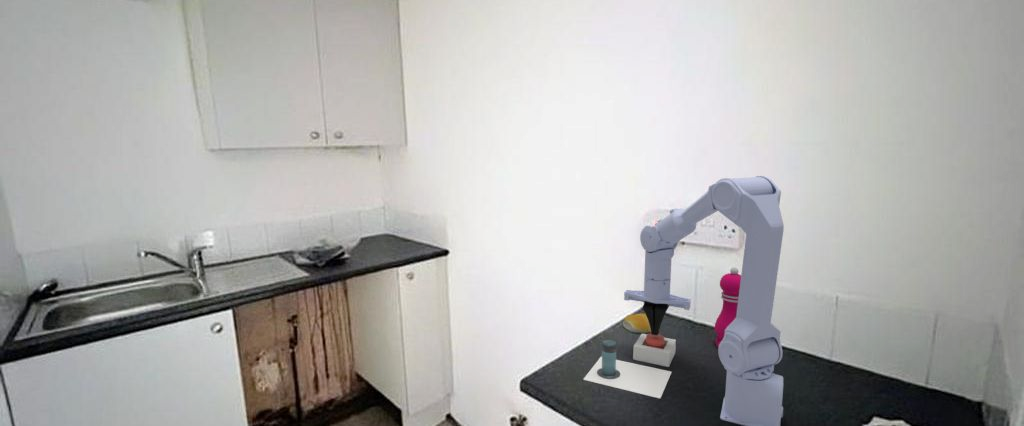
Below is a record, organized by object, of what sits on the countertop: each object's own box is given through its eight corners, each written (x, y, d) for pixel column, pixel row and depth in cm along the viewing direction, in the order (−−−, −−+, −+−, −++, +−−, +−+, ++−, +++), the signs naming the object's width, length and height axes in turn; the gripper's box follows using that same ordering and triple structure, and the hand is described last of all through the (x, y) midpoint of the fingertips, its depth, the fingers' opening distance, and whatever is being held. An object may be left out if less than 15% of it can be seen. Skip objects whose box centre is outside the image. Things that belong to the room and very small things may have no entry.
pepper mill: (751, 353, 113) (757, 271, 109) (720, 353, 113) (725, 271, 109) (737, 340, 120) (742, 263, 116) (708, 340, 120) (713, 263, 117)
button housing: (675, 353, 113) (675, 339, 112) (668, 368, 106) (669, 353, 105) (641, 346, 117) (641, 333, 116) (633, 360, 110) (633, 346, 109)
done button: (665, 345, 112) (665, 335, 111) (661, 352, 108) (662, 341, 108) (648, 341, 113) (648, 332, 113) (644, 348, 110) (644, 338, 110)
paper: (671, 373, 104) (671, 371, 104) (660, 399, 93) (660, 398, 93) (601, 357, 111) (601, 356, 111) (583, 380, 101) (583, 379, 101)
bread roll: (664, 330, 126) (664, 316, 126) (636, 336, 123) (636, 322, 122) (644, 320, 134) (644, 306, 133) (617, 325, 131) (618, 311, 130)
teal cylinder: (617, 371, 104) (618, 341, 103) (613, 377, 101) (614, 346, 100) (604, 368, 105) (604, 338, 104) (599, 374, 103) (600, 344, 102)
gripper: (693, 276, 108) (690, 332, 110) (630, 268, 115) (628, 321, 117) (688, 285, 102) (685, 344, 104) (622, 276, 109) (620, 332, 111)
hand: (655, 333), depth 110 cm, fingers closed
